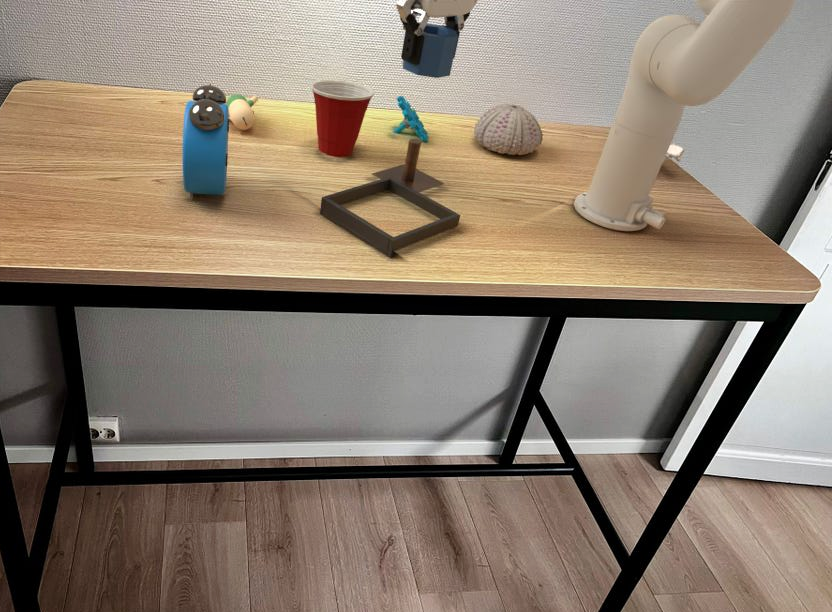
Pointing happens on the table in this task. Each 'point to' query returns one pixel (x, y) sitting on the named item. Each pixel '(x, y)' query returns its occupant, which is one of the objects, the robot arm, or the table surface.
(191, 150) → the alarm clock
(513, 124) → the sea urchin shell
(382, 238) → the tray
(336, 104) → the plastic cup
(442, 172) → the table surface
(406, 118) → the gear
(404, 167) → the dowel stand
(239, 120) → the toy figurine
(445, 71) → the ring
